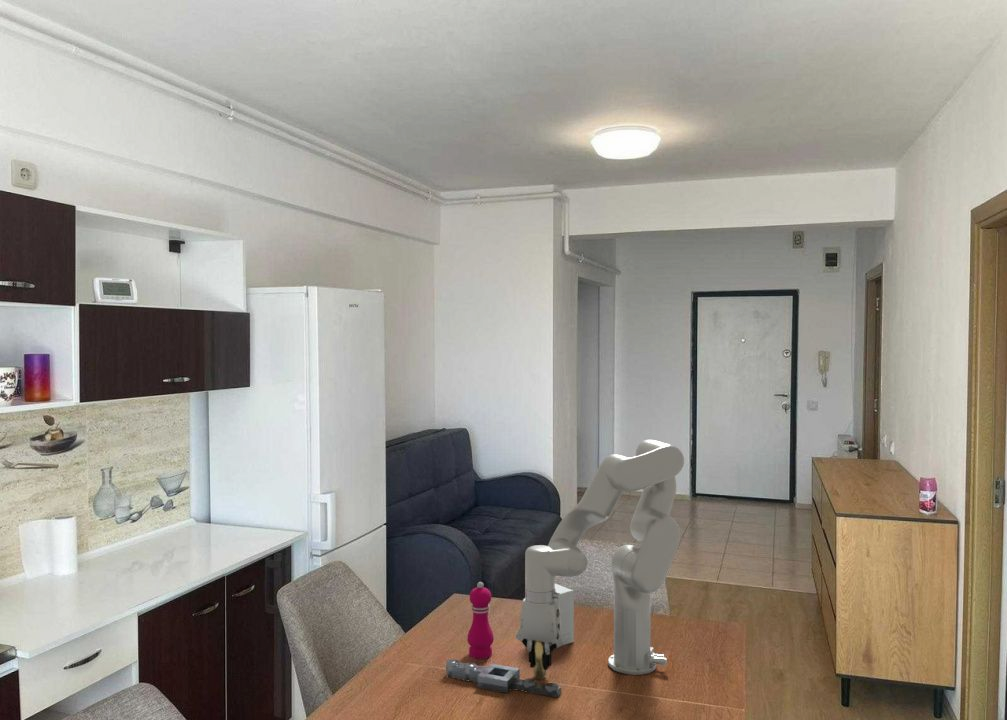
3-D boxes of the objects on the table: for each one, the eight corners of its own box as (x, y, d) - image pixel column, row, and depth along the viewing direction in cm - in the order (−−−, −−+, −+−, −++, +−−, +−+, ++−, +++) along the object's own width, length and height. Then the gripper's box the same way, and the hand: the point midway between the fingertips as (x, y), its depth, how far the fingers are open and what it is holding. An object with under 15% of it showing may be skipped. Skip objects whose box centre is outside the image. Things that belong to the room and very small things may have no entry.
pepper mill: (497, 651, 215) (497, 579, 214) (488, 661, 208) (488, 587, 207) (473, 647, 217) (472, 576, 217) (463, 657, 210) (463, 584, 210)
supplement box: (575, 642, 221) (575, 590, 221) (550, 649, 216) (550, 596, 216) (555, 632, 228) (555, 582, 228) (530, 639, 223) (530, 587, 223)
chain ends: (564, 688, 191) (564, 674, 191) (553, 702, 184) (553, 687, 184) (453, 668, 203) (453, 655, 203) (439, 680, 196) (439, 666, 196)
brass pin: (547, 675, 199) (547, 636, 199) (543, 679, 196) (543, 640, 196) (536, 673, 200) (536, 634, 200) (532, 678, 197) (532, 639, 197)
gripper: (575, 594, 198) (575, 666, 198) (515, 587, 204) (516, 656, 205) (565, 604, 191) (565, 678, 191) (504, 595, 197) (504, 667, 198)
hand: (540, 666), depth 198 cm, fingers closed on brass pin, 3 cm apart
